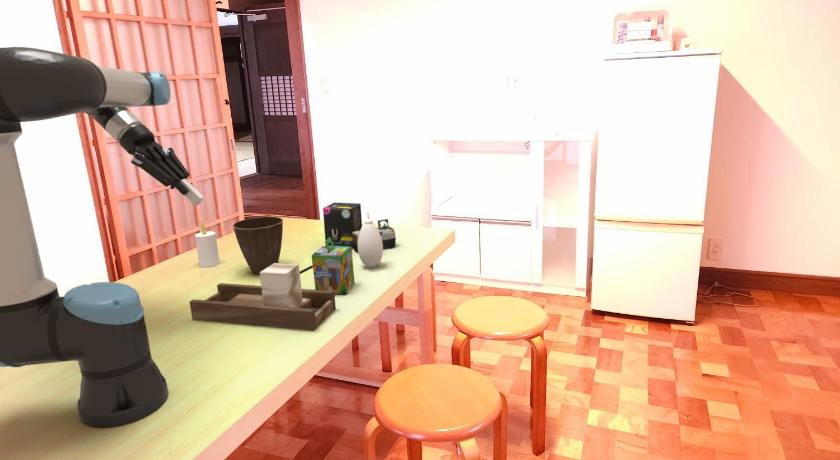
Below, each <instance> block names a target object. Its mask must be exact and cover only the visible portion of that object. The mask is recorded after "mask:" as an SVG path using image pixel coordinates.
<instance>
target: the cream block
mask: <svg viewBox="0 0 840 460" xmlns="http://www.w3.org/2000/svg"><path fill="white" fill-rule="evenodd" d="M300 271H301V270H300V264H295V263H279V262H278V263H274V264H272V265H271V266H269V267H267V268H266V269H264V270H263V271H261V272H260V275H259V278H260V286H261V288H262V296H263V304H264V305H270V306H282V307H297V306H298V305H299V304H300V303H301V302H302V301H303V299H302V289H303V288H302V279H301V274H300Z"/></svg>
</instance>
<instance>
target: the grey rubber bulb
mask: <svg viewBox="0 0 840 460" xmlns="http://www.w3.org/2000/svg"><path fill="white" fill-rule="evenodd" d="M363 222H364V223H362V228H361V230H360V233H359V237H358V253H357V255H358V257H359V259H360V261H361V263H362V264H363V265H365V266H366V268H370V269H374V268H375V267H377V266H378V265H379V263H381V261H382V258H383V255H384V250H383V243H382V239H381V236H380V233H379V231H378V229H377V228H378V226H377V225H376V224H375V223H374V221H373V219H370V215H369V212H367V219H365V220H364V221H363Z"/></svg>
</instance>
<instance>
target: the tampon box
mask: <svg viewBox="0 0 840 460" xmlns="http://www.w3.org/2000/svg"><path fill="white" fill-rule="evenodd" d="M322 213H323V214H322V215H323V225H324V226H323V227H324V229H323V230H324V242H325V241H326V240H327V239H328V238H329V237H331V239H332V242H333V244H334V246H342V247H352V250H354V248H353V244H352V232H355V231H360V230H361V228H362V226H363V220H362V219H363V218H362V205H361V203H356V202H355V203H353V202H333V203H330V204H328V205H326V206H324V207H322ZM328 246H331V243H330V242H329V243H328Z"/></svg>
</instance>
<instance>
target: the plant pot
mask: <svg viewBox="0 0 840 460" xmlns="http://www.w3.org/2000/svg"><path fill="white" fill-rule="evenodd" d="M283 223H284V219H283V218H281V217H279V216H278V217H277V216H258V217H251V218H246V219H242V220H239V221H236V222H234V223H233V225H232V228H233V230H234V234H235V237H236V240H237V244H238V245H239V249H240V252H241V253H242V256H243V258H244V260H245V262H246V264H247V266H248V268H249V269H250V271H251V273H252V274H254V275H259V276H260V272H261V271H263V270H264V269H266V268H267V267H269V266H271V265H272V264H274V263H279V261H280V256H281V249H282V243H283V231H284V230H283V228H284V227H283V226H284V224H283Z"/></svg>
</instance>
